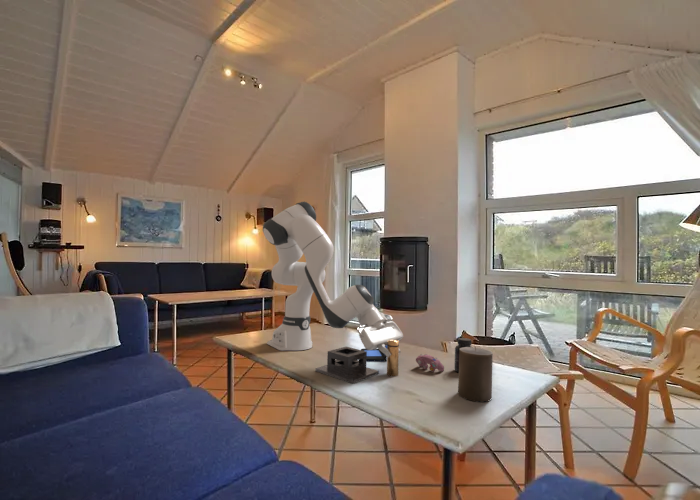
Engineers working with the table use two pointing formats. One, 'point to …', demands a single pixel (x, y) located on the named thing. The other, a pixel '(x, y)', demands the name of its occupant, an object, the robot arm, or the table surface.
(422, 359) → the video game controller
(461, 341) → the supplement bottle
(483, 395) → the pillar candle
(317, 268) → the robot arm
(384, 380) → the table surface
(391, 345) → the gold cylindrical bottle
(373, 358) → the handheld game console
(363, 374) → the collar stand
